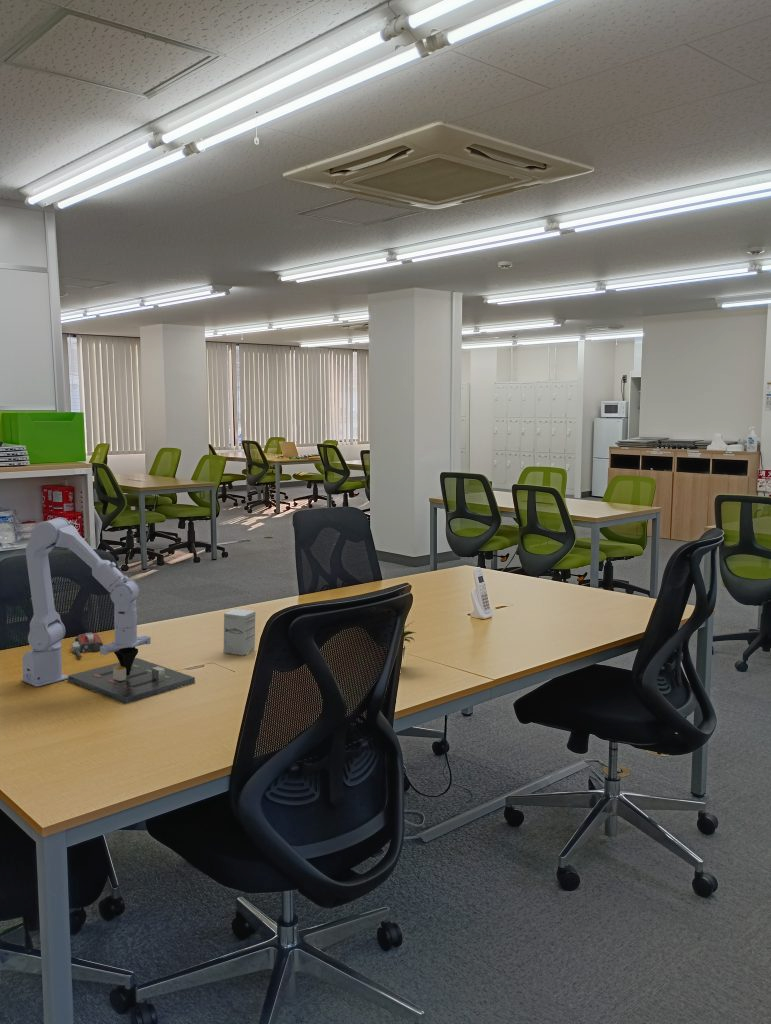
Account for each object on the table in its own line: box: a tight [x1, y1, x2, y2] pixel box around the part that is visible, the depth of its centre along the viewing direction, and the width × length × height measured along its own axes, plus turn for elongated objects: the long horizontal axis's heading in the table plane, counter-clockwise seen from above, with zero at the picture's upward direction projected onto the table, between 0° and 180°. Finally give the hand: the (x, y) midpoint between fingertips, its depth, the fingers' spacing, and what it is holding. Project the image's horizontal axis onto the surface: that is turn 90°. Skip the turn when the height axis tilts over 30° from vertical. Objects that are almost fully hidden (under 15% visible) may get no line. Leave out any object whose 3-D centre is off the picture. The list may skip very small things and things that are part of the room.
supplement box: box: [223, 608, 257, 656], centre depth 256 cm, size 7×7×13 cm
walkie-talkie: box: [71, 632, 104, 659], centre depth 253 cm, size 9×4×20 cm
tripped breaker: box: [113, 665, 126, 681], centre depth 222 cm, size 2×3×3 cm, turn 52°
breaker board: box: [67, 657, 196, 705], centre depth 225 cm, size 22×26×4 cm
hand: (126, 674), depth 224 cm, fingers closed
